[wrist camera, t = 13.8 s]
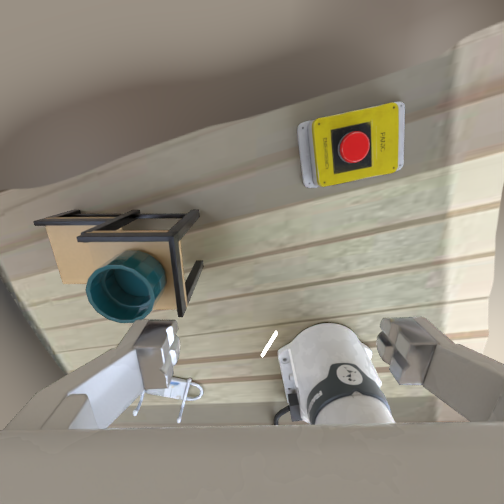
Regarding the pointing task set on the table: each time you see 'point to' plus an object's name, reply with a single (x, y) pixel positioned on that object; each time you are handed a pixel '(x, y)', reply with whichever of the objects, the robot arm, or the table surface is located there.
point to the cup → (127, 286)
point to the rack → (122, 248)
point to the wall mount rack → (173, 393)
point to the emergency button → (352, 145)
